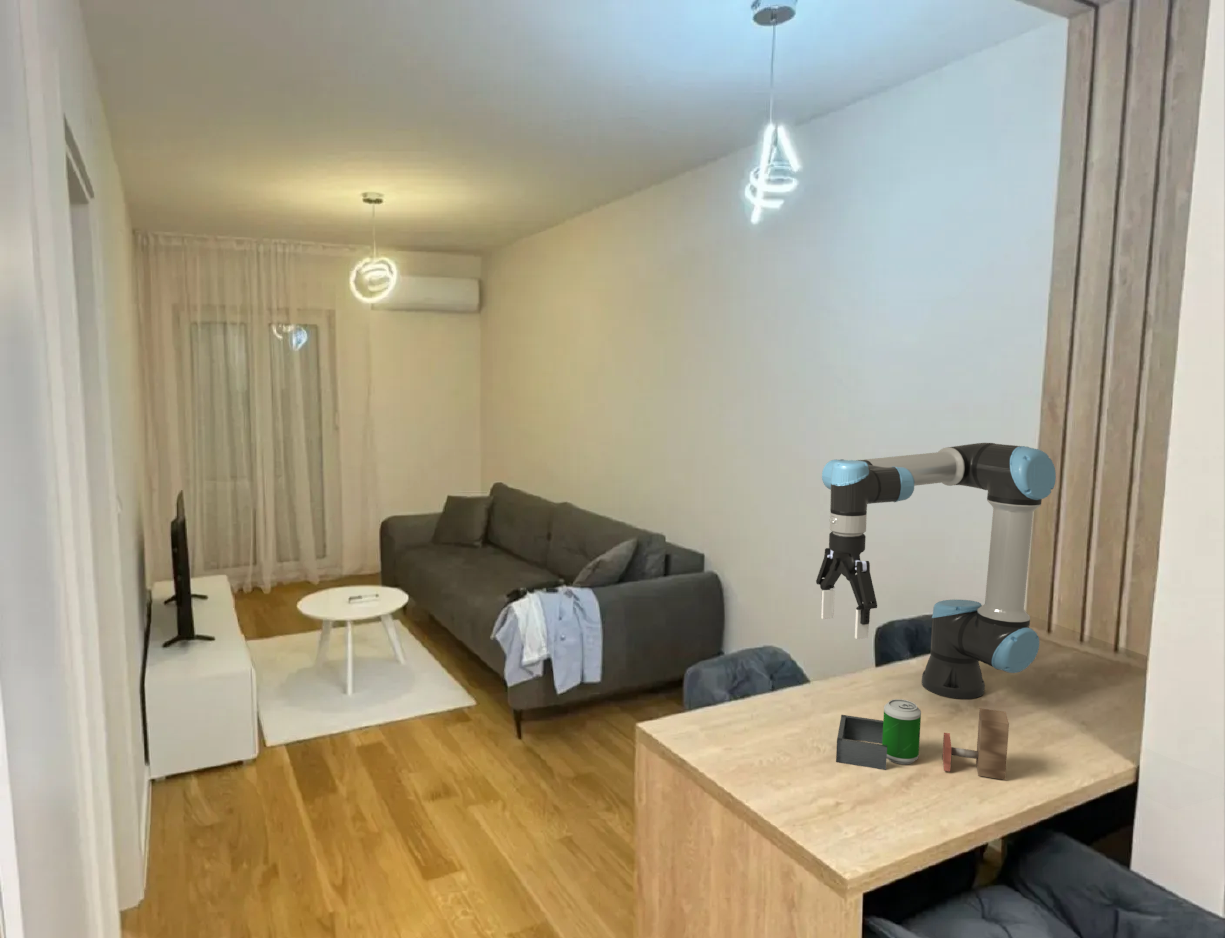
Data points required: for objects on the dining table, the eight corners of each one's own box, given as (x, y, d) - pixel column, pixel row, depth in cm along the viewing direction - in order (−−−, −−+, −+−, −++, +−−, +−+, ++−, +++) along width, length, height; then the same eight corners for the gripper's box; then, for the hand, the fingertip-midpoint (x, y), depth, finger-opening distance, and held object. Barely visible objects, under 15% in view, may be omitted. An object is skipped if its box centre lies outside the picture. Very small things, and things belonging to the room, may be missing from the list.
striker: (1001, 764, 171) (1005, 710, 169) (1005, 781, 164) (1009, 724, 163) (942, 755, 175) (945, 702, 173) (943, 771, 168) (947, 716, 167)
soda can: (921, 768, 170) (924, 713, 168) (883, 764, 172) (886, 710, 170) (915, 751, 177) (918, 699, 176) (879, 748, 179) (882, 696, 177)
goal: (887, 742, 181) (888, 721, 181) (886, 770, 169) (887, 747, 169) (840, 735, 185) (841, 714, 184) (836, 762, 173) (836, 739, 172)
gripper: (802, 522, 185) (800, 612, 188) (865, 546, 161) (861, 649, 164) (832, 520, 187) (828, 609, 190) (898, 544, 163) (893, 645, 166)
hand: (843, 627), depth 177 cm, fingers open, 13 cm apart
